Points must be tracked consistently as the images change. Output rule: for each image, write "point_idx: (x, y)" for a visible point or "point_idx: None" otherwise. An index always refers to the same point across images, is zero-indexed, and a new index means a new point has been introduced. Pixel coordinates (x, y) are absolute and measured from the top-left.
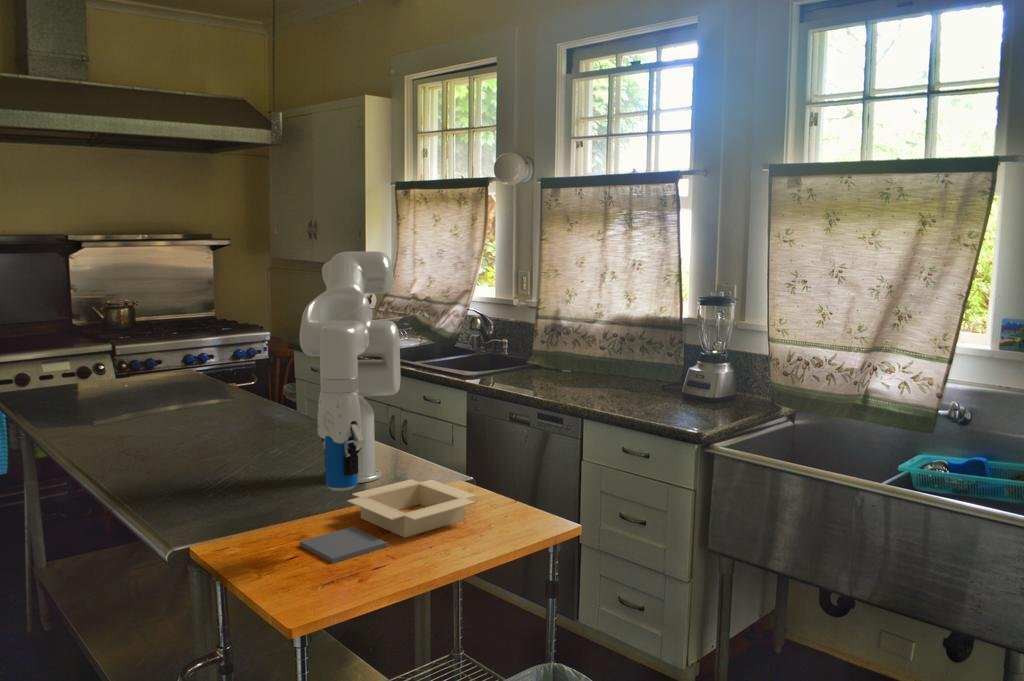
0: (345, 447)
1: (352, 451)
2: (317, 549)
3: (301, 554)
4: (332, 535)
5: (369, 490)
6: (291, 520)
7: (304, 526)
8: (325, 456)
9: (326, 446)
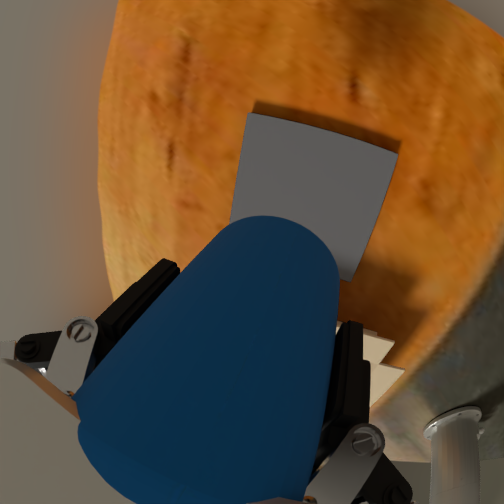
0: (59, 365)
1: (44, 336)
2: (321, 132)
3: (353, 112)
4: (356, 221)
5: (380, 390)
6: (491, 268)
7: (456, 254)
8: (281, 341)
9: (207, 409)
